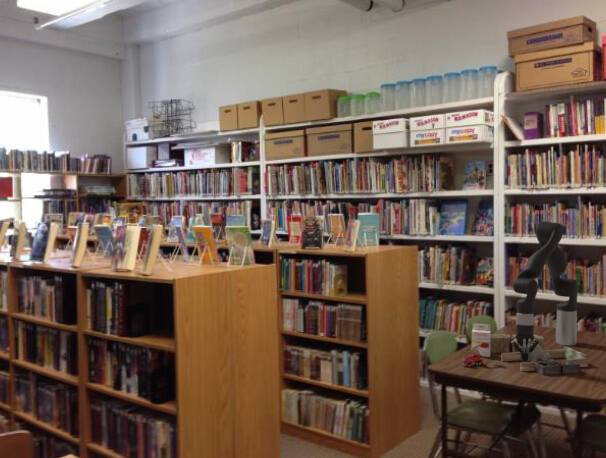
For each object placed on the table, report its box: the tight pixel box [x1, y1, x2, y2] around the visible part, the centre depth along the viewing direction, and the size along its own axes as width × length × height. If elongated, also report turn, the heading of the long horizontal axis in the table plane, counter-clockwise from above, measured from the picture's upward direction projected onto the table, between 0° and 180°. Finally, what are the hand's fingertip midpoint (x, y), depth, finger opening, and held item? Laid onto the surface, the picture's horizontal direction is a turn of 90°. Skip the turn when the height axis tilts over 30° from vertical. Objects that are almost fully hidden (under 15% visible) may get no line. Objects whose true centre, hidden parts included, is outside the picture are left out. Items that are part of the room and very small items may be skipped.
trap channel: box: [500, 345, 589, 376], centre depth 262 cm, size 24×32×5 cm
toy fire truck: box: [461, 342, 489, 368], centre depth 266 cm, size 3×14×10 cm, turn 117°
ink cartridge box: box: [471, 323, 492, 358], centre depth 281 cm, size 9×5×15 cm, turn 71°
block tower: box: [490, 333, 545, 354], centre depth 288 cm, size 8×8×29 cm
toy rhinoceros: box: [527, 345, 554, 365], centre depth 265 cm, size 7×12×8 cm, turn 64°
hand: (524, 361), depth 264 cm, fingers closed
